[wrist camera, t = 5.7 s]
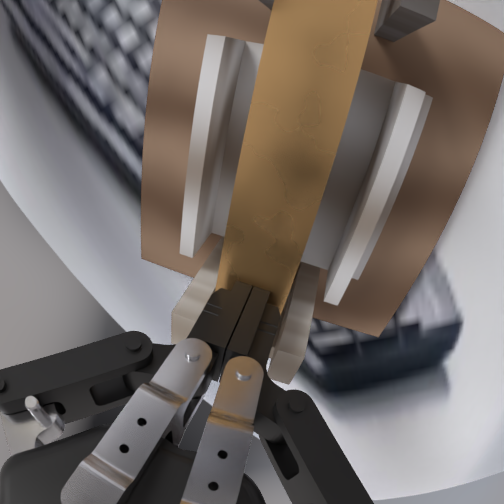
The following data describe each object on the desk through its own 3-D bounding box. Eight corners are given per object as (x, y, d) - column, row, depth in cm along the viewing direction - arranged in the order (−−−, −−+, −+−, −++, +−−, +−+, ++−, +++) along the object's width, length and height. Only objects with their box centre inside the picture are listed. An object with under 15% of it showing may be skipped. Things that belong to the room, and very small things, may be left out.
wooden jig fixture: (186, -44, 12) (86, -86, 4) (499, 39, 10) (597, 38, 3) (151, 247, 24) (84, 324, 17) (377, 322, 22) (376, 426, 15)
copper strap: (295, -45, 7) (287, -62, 6) (380, -25, 7) (386, -39, 5) (219, 303, 16) (207, 324, 15) (276, 322, 16) (269, 345, 14)
